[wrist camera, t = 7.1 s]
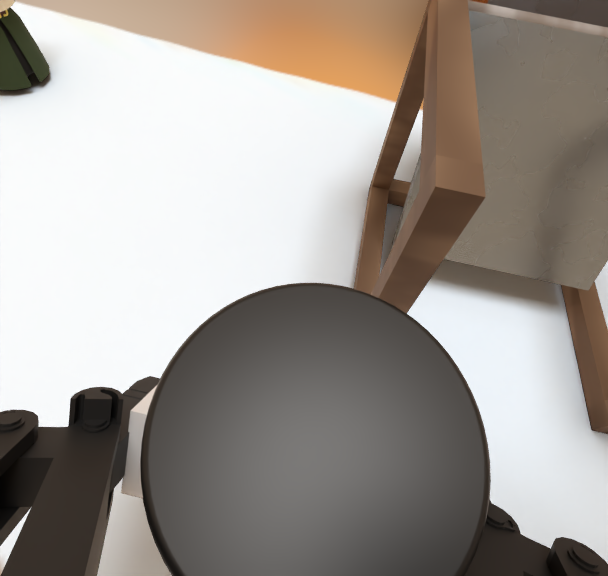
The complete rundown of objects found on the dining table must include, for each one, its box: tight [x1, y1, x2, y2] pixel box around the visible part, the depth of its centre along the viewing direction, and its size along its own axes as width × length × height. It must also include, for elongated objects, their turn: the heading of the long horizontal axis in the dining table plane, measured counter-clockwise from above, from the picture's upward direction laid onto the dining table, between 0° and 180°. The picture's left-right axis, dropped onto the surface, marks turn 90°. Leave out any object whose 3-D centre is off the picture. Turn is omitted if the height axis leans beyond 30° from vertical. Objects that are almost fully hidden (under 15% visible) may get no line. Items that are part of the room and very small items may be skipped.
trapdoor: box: [392, 0, 608, 290], centre depth 25 cm, size 14×19×8 cm
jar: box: [140, 283, 491, 576], centre depth 14 cm, size 9×8×12 cm
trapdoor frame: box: [354, 0, 608, 434], centre depth 22 cm, size 18×18×16 cm
